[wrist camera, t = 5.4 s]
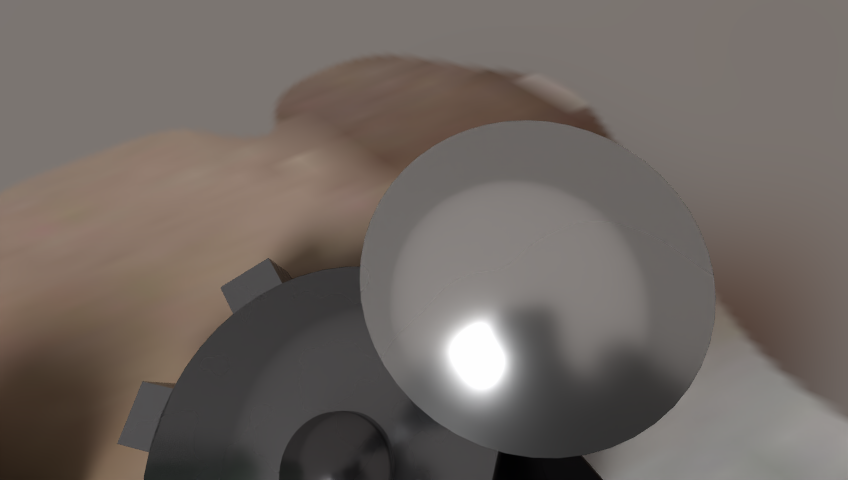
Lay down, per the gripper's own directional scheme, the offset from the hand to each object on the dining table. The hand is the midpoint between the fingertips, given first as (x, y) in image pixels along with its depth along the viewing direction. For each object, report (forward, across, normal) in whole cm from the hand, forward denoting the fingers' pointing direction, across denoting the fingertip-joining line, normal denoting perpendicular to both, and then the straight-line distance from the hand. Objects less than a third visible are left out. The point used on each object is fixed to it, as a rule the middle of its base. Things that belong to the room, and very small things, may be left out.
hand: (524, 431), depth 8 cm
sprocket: (+5, +5, +7) cm, 10 cm away
